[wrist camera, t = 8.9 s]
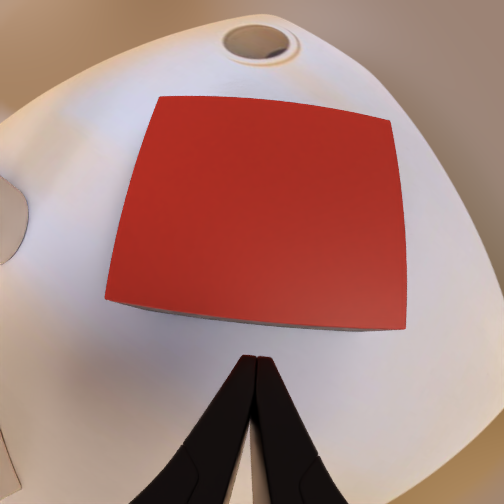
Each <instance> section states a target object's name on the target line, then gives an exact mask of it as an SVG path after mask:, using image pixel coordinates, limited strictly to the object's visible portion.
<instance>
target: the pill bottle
mask: <svg viewBox="0 0 504 504" xmlns="http://www.w3.org/2000/svg"><path fill="white" fill-rule="evenodd" d="M27 223H28V205H27V202H26V199H25V197H24V195H23V194H22V193H21V192H20V191H19V190H18V189H17V188H16V187H14V186H13V185H12V184H11V183H9V182H8V181H7V180H6V179H4V178H3V177H2V176H1V175H0V264H2V263H4V262H6V261H7V260H9V259H10V258H11V257H12V256H13V255H14V253H15V252H16V251H17V249H18V248H19V246H20V244H21V242H22V240H23V237H24V234H25V231H26V228H27Z"/></svg>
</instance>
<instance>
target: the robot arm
mask: <svg viewBox="0 0 504 504" xmlns="http://www.w3.org/2000/svg"><path fill="white" fill-rule="evenodd" d="M249 422H250V449H251V471H252V492H253V504H348V503H347V501H346V500H345V498H344V497H343V496H342V494H341V493H340V491H339V490H338V488H337V487H336V485H335V484H334V482H333V480H332V479H331V477H330V475H329V473H328V471H327V470H326V468H325V466H324V464H323V462H322V460H321V458H320V456H318V452H317V450H316V448H315V446H314V444H313V442H312V440H311V438H310V436H309V434H308V432H307V430H306V428H305V426H304V424H303V422H302V420H301V418H300V416H299V414H298V411H297V409H296V407H295V405H294V403H293V401H292V399H291V397H290V395H289V393H288V391H287V389H286V386H285V384H284V382H283V380H282V378H281V376H280V374H279V372H278V370H277V367H276V365H275V363H274V361H273V359H272V358H271V357H264V356H258V357H257V358H256V356H253V355H242V356H241V357H240V359H239V360H238V362H237V363H236V365H235V366H234V368H233V370H232V371H231V373H230V374H229V376H228V377H227V379H226V380H225V382H224V383H223V385H222V386H221V388H220V389H219V391H218V392H217V394H216V395H215V397H214V398H213V400H212V401H211V403H210V404H209V406H208V407H207V409H206V410H205V412H204V413H203V415H202V416H201V418H200V419H199V421H198V422H197V424H196V425H195V426H194V428H193V429H192V431H191V432H190V434H189V435H188V437H187V438H186V439H185V441H184V442H183V445H181V446H180V448H179V449H178V450H177V452H176V453H175V455H174V456H173V457H172V459H171V460H170V461H169V462H168V464H167V465H166V466H165V467H164V469H163V470H162V471H161V472H160V473H159V474H158V475H157V476H156V477H155V479H154V480H153V481H152V482H151V483H150V484H149V485H148V486H147V487H146V488H145V489H144V490H143V491H142V492H141V493H139V494H138V495H137V496H136V497H135V498H134V499H133V500H132V501H131V502H130V503H129V504H229V501H230V497H231V494H232V490H233V486H234V483H235V479H236V475H237V471H238V467H239V464H240V460H241V456H242V452H243V448H244V444H245V440H246V436H247V432H248V427H249Z"/></svg>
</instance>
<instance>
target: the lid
mask: <svg viewBox="0 0 504 504" xmlns="http://www.w3.org/2000/svg"><path fill="white" fill-rule="evenodd" d="M105 299H106V300H109V301H113V302H119V303H125V304H130V305H136V306H142V307H148V308H155V309H161V310H167V311H174V312H181V313H188V314H196V315H203V316H211V317H219V318H228V319H237V320H246V321H256V322H266V323H278V324H289V325H303V326H317V327H334V328H355V329H385V330H402V329H406V307H407V264H406V239H405V224H404V212H403V201H402V192H401V183H400V176H399V168H398V162H397V155H396V149H395V143H394V138H393V132H392V127H391V122H390V121H389V120H385V119H381V118H377V117H372V116H368V115H363V114H359V113H354V112H349V111H344V110H338V109H333V108H327V107H321V106H314V105H308V104H300V103H293V102H284V101H275V100H265V99H253V98H239V97H218V96H161V97H159V99H158V101H157V104H156V106H155V109H154V112H153V114H152V117H151V120H150V122H149V125H148V128H147V131H146V134H145V136H144V139H143V142H142V145H141V148H140V151H139V154H138V157H137V161H136V164H135V167H134V170H133V174H132V177H131V180H130V184H129V187H128V191H127V195H126V198H125V202H124V206H123V210H122V214H121V218H120V222H119V226H118V230H117V235H116V239H115V244H114V248H113V253H112V258H111V263H110V269H109V274H108V280H107V285H106V291H105Z"/></svg>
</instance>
